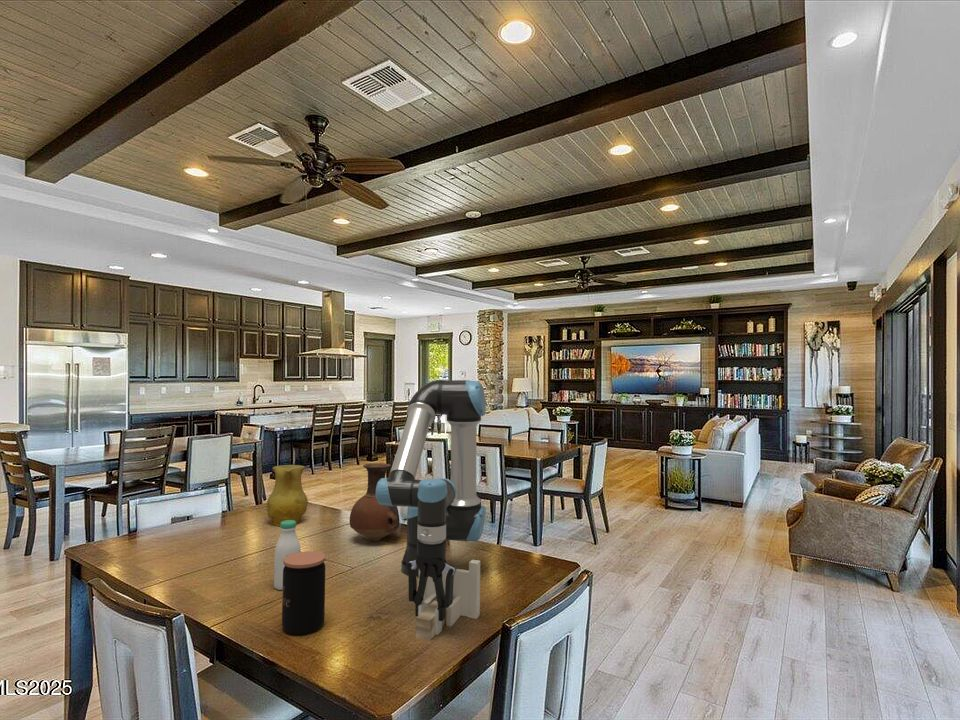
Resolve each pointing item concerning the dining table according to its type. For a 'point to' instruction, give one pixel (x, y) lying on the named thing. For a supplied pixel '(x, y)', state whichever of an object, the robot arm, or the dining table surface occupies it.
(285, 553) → the milk bottle
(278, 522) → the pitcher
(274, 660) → the dining table surface
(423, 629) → the beige wooden block
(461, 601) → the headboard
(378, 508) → the vase
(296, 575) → the coffee jar
